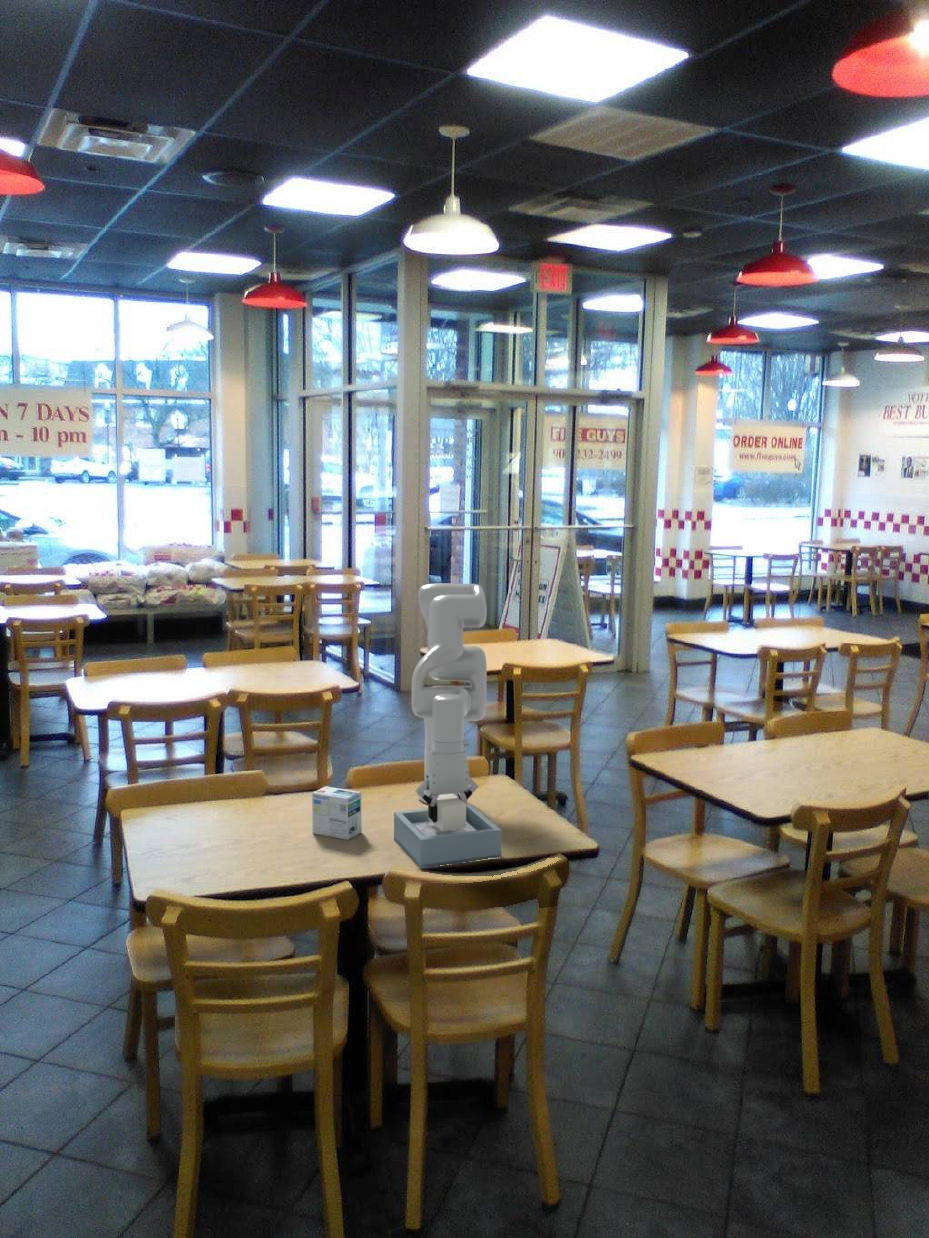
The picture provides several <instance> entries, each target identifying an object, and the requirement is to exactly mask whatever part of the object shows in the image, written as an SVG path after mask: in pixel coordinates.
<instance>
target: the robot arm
mask: <svg viewBox="0 0 929 1238" xmlns="http://www.w3.org/2000/svg"><path fill="white" fill-rule="evenodd" d="M417 596H418V604H419V608H420V611H421V614H422V617H423V619H424V622H425V625H426V629H427V653H425V654H424V656H422V657H421V659H420V660H419V661H418V663H417V664H416V666H415V668H414V671H413V673H412V676H411V677H412V679H411V709H412V712H413V714H414V715H415V716H416V717H418V718H421V719H423V722H424V778H423V779H424V780H423V781H422V783H420V785H419V786H418V787H417V788H416V789H415V793H416V794H417V795H418V799H419V801H421V802H422V803H425V804H427V809H428V816H429V818H430V819H431V820H432V821H433V822H434V823H435V822H437V806H436V805H435V803H436V801H437V798H438V796H439V795H444V794H454V795H455V796H456V797H458V798H459V799H460V800H462V801H463V802H465V803H466V804H467V802H468V800H469V798H471V796H472V795H473V793H474V792H476V790H477V789H478V787H479V785H478V783H476V782H475V781H474V780H473V779H472V778H471V777H470V773H469V772H470V771H469V763H468V755H467V751H466V750H465V747H467V746H469V745H470V741H469V739H465V738H464V737H465V735H464V733H465V722H478V721H480V720H483V719H484V717H485V716H486V713H487V688H488V687H487V685H488V684H487V679H488V678H487V674H488V673H487V671H488V670H487V667H488V666H487V658H486V653H485V651H484V650H483V648H482V647H479V646H476V645H464V628H465V629H466V628H467V629H468V628H469V629H470V628H471V629H473V628H474V629H475V628H477V629H479V628H482V627H484V625H485V624H486V621H487V613H488V611H487V610H488V607H487V600H486V596H485V591H484V589H483V587H482V585H480V584H477V583H451V582H447V583H446V582H443V583H440V582H438V583H435V582H434V583H428V584H424V585H422V586H421V587H420V588H419V590H418V595H417ZM426 675H429V677H430V678H431V679H432V680H435V681H442V682H443V681H444V682H468V684H470V685H433V686H424V683H423V682H424V679H425V677H426ZM428 795H429V796H428Z"/></svg>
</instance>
